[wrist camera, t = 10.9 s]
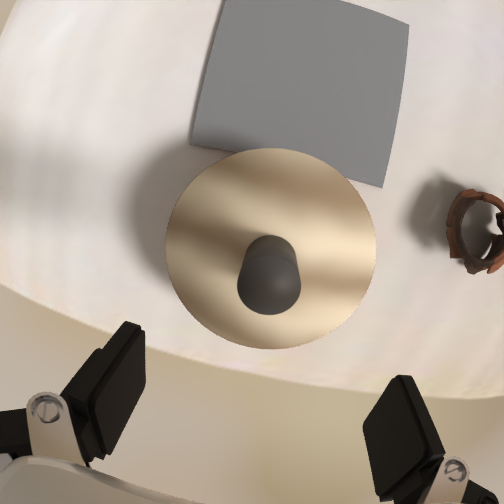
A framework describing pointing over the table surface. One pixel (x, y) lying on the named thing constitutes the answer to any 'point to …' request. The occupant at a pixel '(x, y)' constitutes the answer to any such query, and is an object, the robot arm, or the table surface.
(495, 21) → the table surface
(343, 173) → the mat
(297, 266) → the lid
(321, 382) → the table surface
